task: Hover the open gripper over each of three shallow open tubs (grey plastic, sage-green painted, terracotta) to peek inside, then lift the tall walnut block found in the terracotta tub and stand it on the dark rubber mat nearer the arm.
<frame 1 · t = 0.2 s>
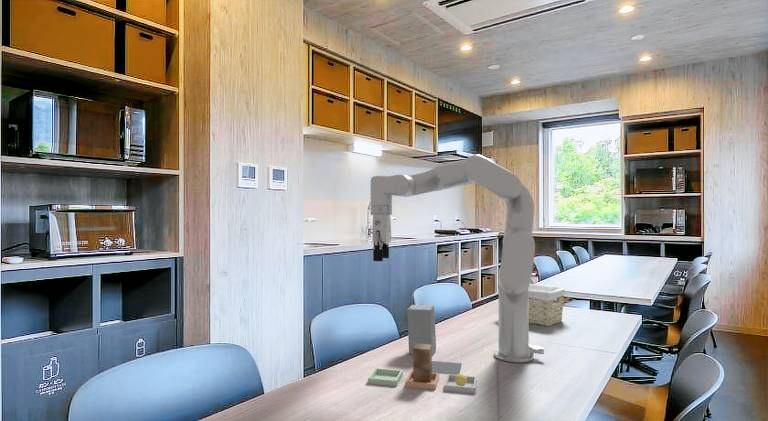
hand: (381, 259, 157), 31 cm above the table, tool pointing down, fingers open, 9 cm apart
terracotta tub: (422, 384, 123), on the table
storage basket: (531, 320, 196), on the table
skincare box: (421, 353, 151), on the table
sage tub: (385, 381, 126), on the table
grey tub: (460, 388, 121), on the table
mustard ball: (460, 380, 121), point 2 cm above the table, touching grey tub
walnut block: (422, 382, 123), point 1 cm above the table, touching terracotta tub
rubber mat: (443, 369, 135), on the table
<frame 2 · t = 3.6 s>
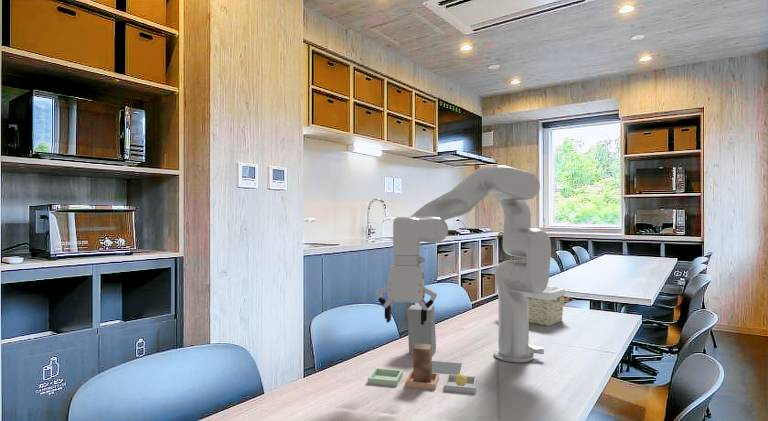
hand: (405, 322, 124), 17 cm above the table, tool pointing down, fingers open, 9 cm apart
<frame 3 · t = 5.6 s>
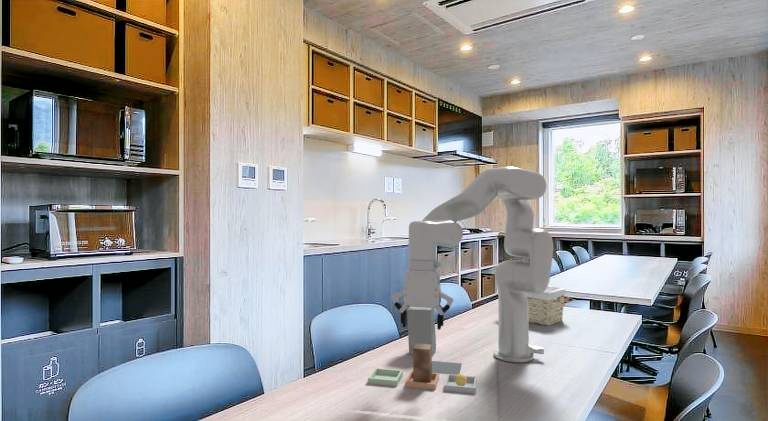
hand: (421, 327, 123), 16 cm above the table, tool pointing down, fingers open, 9 cm apart
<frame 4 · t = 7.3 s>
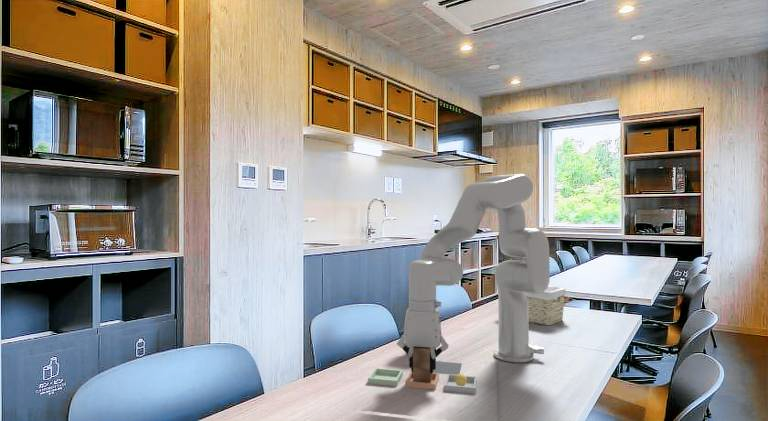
hand: (422, 370, 123), 4 cm above the table, tool pointing down, fingers closed on walnut block, 4 cm apart
walnut block: (422, 382, 123), point 1 cm above the table, touching gripper, terracotta tub
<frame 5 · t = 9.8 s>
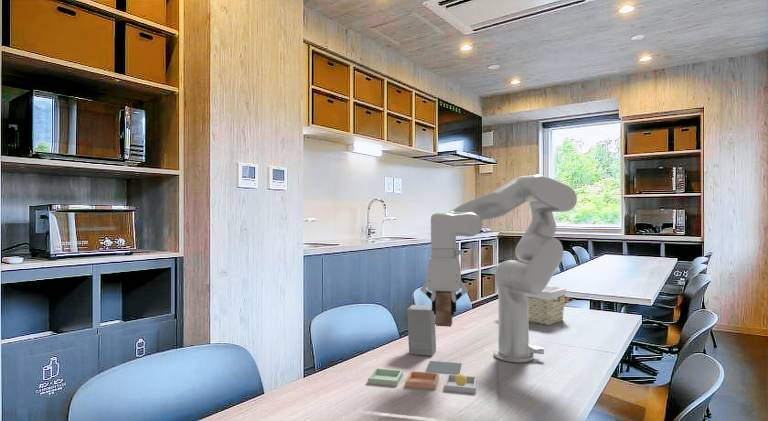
hand: (444, 313, 135), 17 cm above the table, tool pointing down, fingers closed on walnut block, 4 cm apart
walnut block: (444, 324, 135), point 14 cm above the table, touching gripper
when the fingers open (5 cm above the table, at t = 12.4 s): walnut block stays where it is, resting on rubber mat.
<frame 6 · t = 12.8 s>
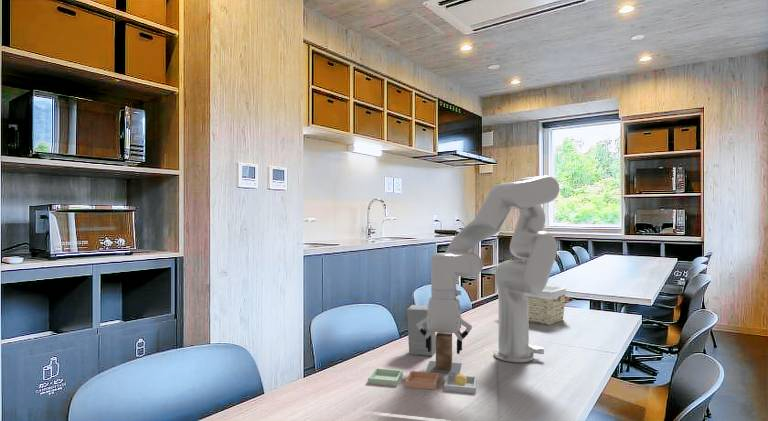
hand: (443, 351, 135), 6 cm above the table, tool pointing down, fingers open, 8 cm apart
walnut block: (444, 367, 135), point 1 cm above the table, touching rubber mat
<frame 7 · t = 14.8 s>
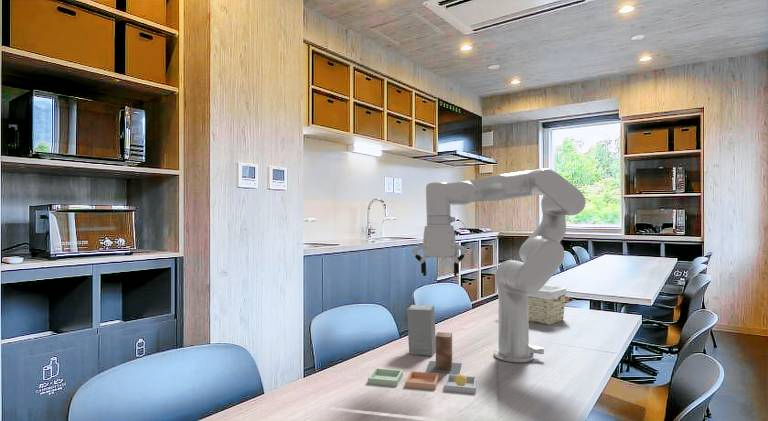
hand: (440, 275, 140), 28 cm above the table, tool pointing down, fingers open, 9 cm apart
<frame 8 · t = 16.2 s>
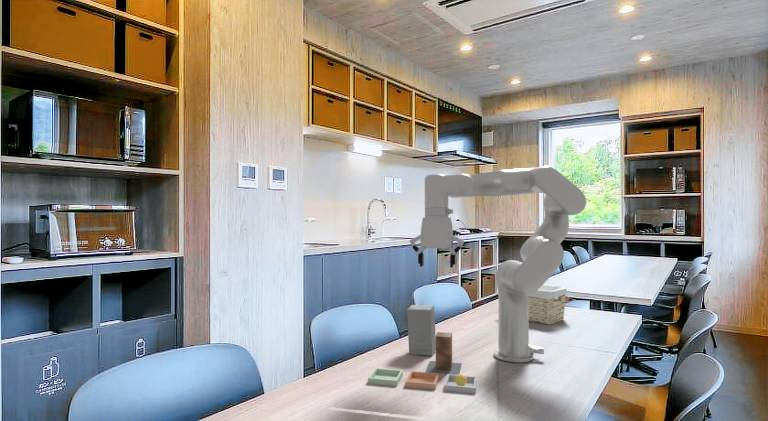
hand: (436, 266, 142), 30 cm above the table, tool pointing down, fingers open, 9 cm apart
at the end: walnut block inside the target area on the rubber mat (0.0 cm from its centre), point 0.6 cm above the rubber mat's base; walnut block tilted 0°; the gripper is holding nothing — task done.
